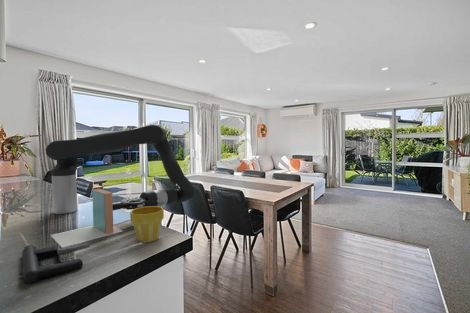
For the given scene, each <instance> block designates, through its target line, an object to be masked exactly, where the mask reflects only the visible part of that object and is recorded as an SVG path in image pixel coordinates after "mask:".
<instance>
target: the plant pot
mask: <svg viewBox="0 0 470 313" xmlns="http://www.w3.org/2000/svg"><path fill="white" fill-rule="evenodd" d="M129 214H130V217H129V218H130V222H131V224H132V225H133V228H134V232H135V235H136V240H137V241H138V242H139V241H140V242H141V243H151V242H152V243H153V242H154V241H157V240H158V239H160V238H159V237H160V231H161V226H162V221H163V220H164V216H165V215H164V214H165V213H164V208H163V206H162V207H159V206H147V207H140V208H136V209H131V210H130V213H129Z"/></svg>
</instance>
